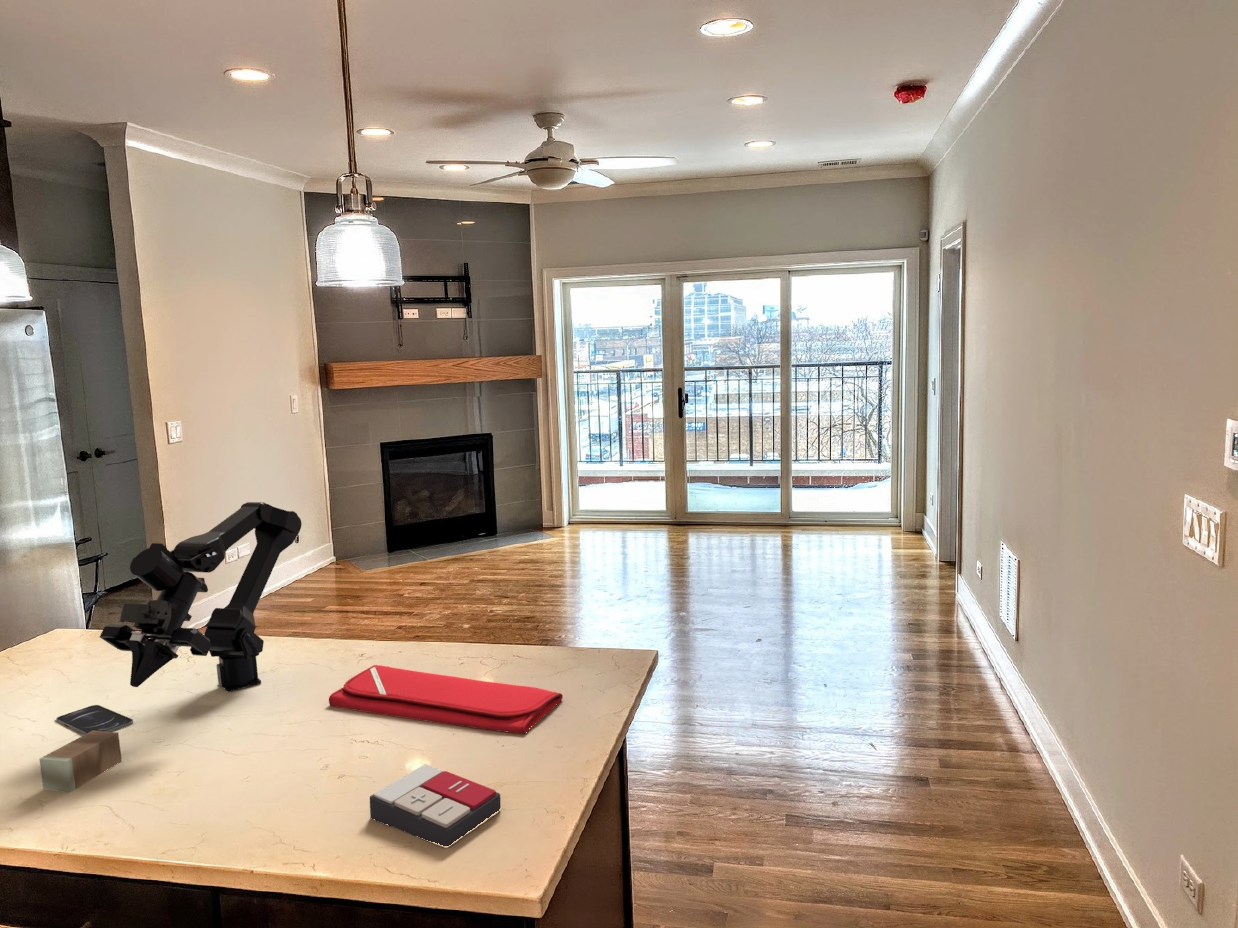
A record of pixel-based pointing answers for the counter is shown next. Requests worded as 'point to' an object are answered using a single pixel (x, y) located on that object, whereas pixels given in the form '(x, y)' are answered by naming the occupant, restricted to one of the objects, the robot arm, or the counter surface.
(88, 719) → the smartphone
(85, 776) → the walnut block
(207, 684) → the counter surface
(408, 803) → the calculator
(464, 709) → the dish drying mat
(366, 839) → the counter surface
